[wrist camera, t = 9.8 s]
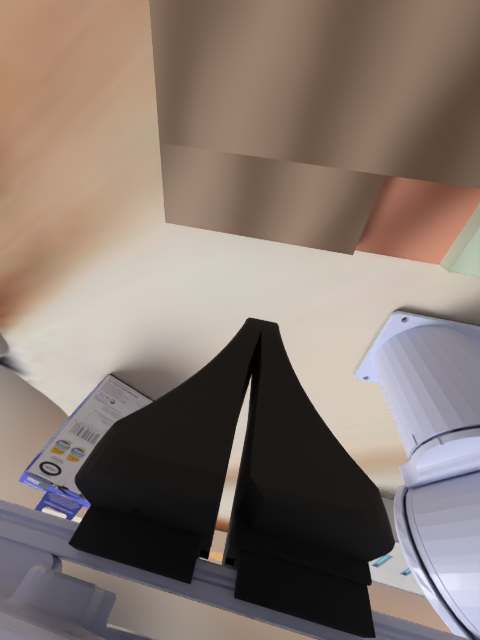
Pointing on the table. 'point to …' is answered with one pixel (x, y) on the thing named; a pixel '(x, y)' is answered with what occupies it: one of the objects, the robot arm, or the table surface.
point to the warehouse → (394, 563)
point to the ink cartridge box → (79, 445)
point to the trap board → (324, 123)
